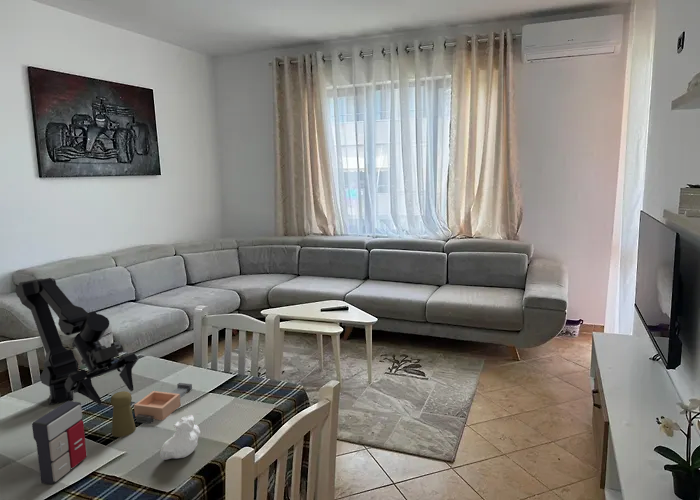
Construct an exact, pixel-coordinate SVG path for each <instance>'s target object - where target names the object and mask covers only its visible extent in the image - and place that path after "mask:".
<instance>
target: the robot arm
mask: <svg viewBox="0 0 700 500" xmlns="http://www.w3.org/2000/svg"><path fill="white" fill-rule="evenodd" d="M15 293H16V296H17V298H19V300H20V303H21V304H22V306H24V307H26V308H27V309H29V310H30V311H31V315H32V318H33V320H34V323H35V326H36V329H37V331H38V334H39V336H40V337H39V338H40V340H41V343H42V345H43V348H44V351H45V356H44V359H43V363H42V364H43V367H44V369H43V371H42V372H41V374H40V376H39V378H40V381H41V382H40V383H42V384H43V385H45V386H47V387H49V389H48V390H49V397H48V404H49V406H50V405H55V404H60V403H65V402H67V401H74V394H76V393H79V394H80V395H82V396H85V397H87V398H88V399H89V400H91V401H92V402H94V403H96V404H97V405H101V404H102V403H103V401H102V400H101V397H100V395H99V394H98V392H97V391H96V389H95V387H94V385H93V383H92V379H94V378H97V377H100V376H102V375H106V374H108V373H110V372H113V371H116V370H117V372H119V377H120V379H121V380H122V381H123V383H124V384H125V386H126V388H127V389H128V390H129V391H130V392H133V391H134V382H133V372H132V371H133V368H134V366H135V365H136V363H137V362H138V361H139V357H138V356H137V354H136V353H135V352H130V353H127V354H124V355H121V356H120V354H119V353H122V352H124V347H123V344H122V342H121V341H120V340H117V341H114V342H112V343H110V346H108V347H107V346H106V345H102V344H101V342H100V340H102V339H103V336H104V335H105V333H106V332H107V330H108V328H109V327H110V320H109V318H108V317H106V316H105V315H103V314H99V313H97V311H96V310H93V311H90V312H89V311H87V310H85V309H84V308H83V307H81V306H77V305H75V304H73V302H71V300H70V299H69V297H67V295H66V294H65V293H64V291H62V289H61V288H60V287H59V286H58V285H57V281H56V279H55V278H53V277H52V278H51V277H47V278H46V277H45V278H37V279H30V280H26V281H20V282H19V283H18V285H17V286H16V287H15ZM50 308H51V309H50ZM51 311H53V312H54V313H55V314H56V315H57V317H58V324H56V322H55V319H54V316H53V314H52V312H51ZM57 325H58V327H59V329H60V331H61V332H62V333H63V334H64V335H65V336H71V335H75V334H76V335H75V336H74V337H73V340H72V344H71V345H72V348H76V349H77V351H78V354H79V355H80V357H81V359H82V360H80V362H81V363H82V365H85V366H86V367H87V370H88V372H87V370H85V369H79V363H78V360H77V359H76V357H75V354H74V351H73V350H72V349H71V348H70V349H67V348H66V347H65V346H64V345H63V342H62V339H61V335H60V334H59V331H58V328H57ZM119 356H120V358H119V359H118V360H117V361H116V362H115V359H116V357H119ZM113 362H114V363H113Z"/></svg>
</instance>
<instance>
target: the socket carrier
mask: <svg viewBox="0 0 700 500" xmlns="http://www.w3.org/2000/svg"><path fill="white" fill-rule="evenodd" d="M180 407H181V398H180V394H176V393H172V392H168V391H167V392H166V391H156V390H152V391H150V392H149V393H148V394H147V395H145V396H144V397H143V398H142V399H140V400H139V401H137V402H136V403H134V405H133V408H134V409H133V410H134V417H135V418H136V416H137V415H138V414H142V415H150V416H154V420H157V421H164V420H165V419H167V418H168V417H169V416H170V415H171V414H173V412H175V411H176V410H177V409H178V408H180Z"/></svg>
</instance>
